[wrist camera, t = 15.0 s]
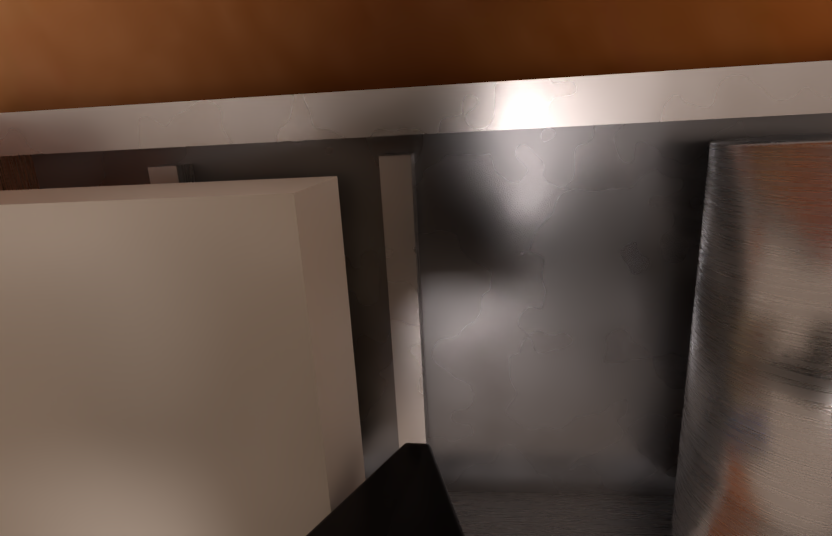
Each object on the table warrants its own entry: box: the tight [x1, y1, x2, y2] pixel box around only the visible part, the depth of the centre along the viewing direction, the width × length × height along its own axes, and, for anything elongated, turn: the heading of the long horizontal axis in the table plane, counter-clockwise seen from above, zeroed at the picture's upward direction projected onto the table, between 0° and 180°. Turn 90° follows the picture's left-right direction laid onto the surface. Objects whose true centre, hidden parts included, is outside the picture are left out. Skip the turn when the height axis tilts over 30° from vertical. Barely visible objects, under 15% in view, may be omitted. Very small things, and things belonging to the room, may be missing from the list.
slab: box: [0, 176, 365, 536], centre depth 9 cm, size 10×10×2 cm
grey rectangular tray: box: [0, 60, 832, 536], centre depth 11 cm, size 28×13×8 cm, turn 93°
